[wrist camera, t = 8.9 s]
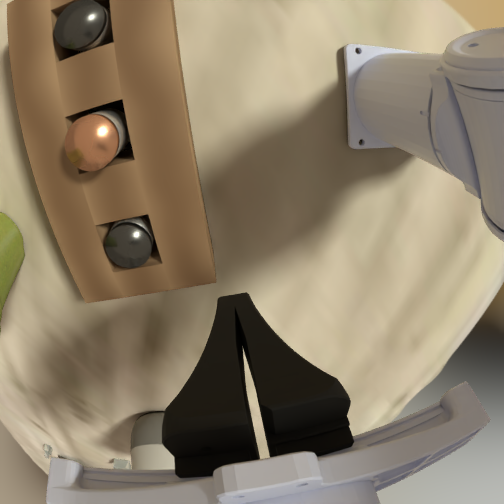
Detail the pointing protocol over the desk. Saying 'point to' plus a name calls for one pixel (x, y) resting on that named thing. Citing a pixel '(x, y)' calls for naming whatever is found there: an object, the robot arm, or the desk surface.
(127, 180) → the socket block
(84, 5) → the plug
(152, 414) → the smart speaker
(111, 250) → the plug
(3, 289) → the plant pot
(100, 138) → the plug mid
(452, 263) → the desk surface
